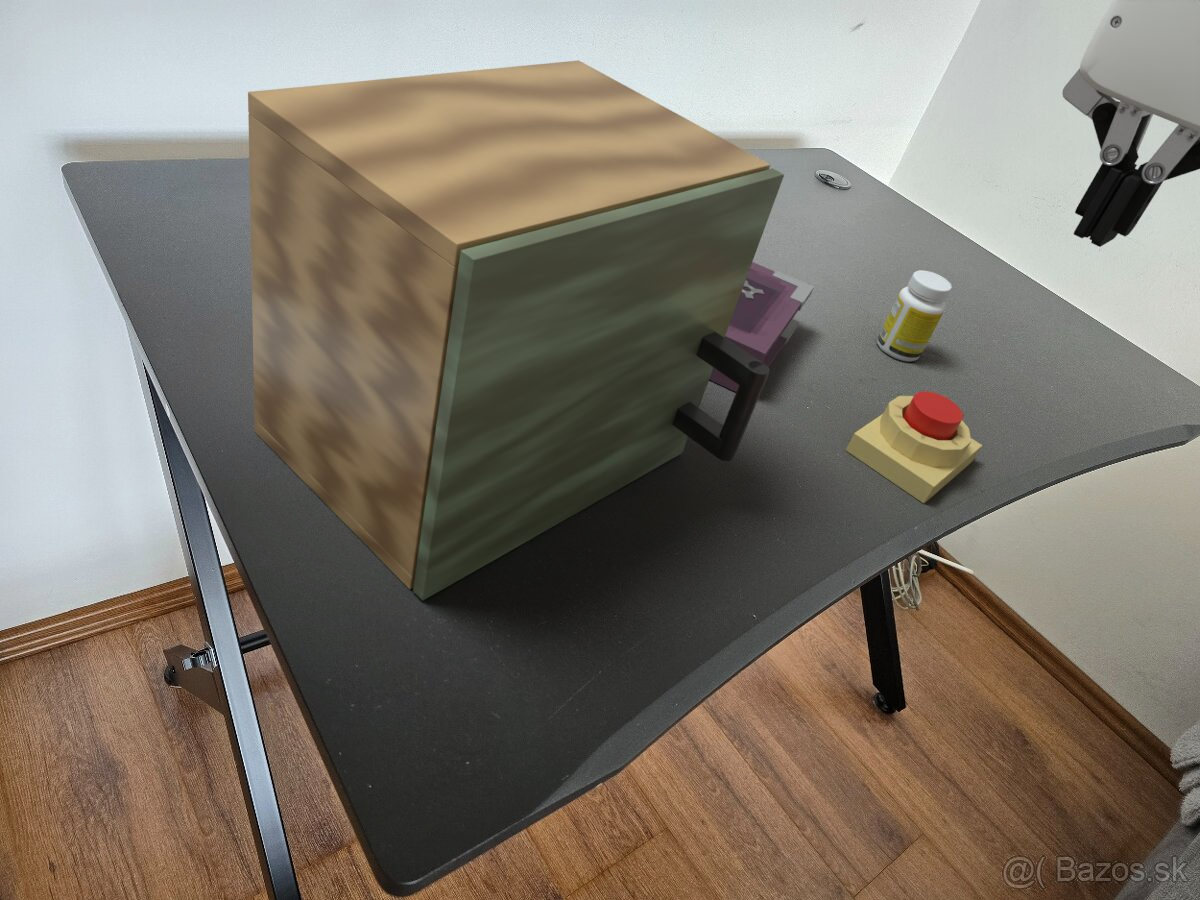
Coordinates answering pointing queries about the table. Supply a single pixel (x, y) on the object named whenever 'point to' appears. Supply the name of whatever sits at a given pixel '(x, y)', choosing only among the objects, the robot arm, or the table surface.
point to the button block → (912, 452)
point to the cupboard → (420, 250)
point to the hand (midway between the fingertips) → (1094, 236)
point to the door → (586, 366)
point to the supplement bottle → (914, 316)
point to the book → (764, 316)
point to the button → (933, 415)
